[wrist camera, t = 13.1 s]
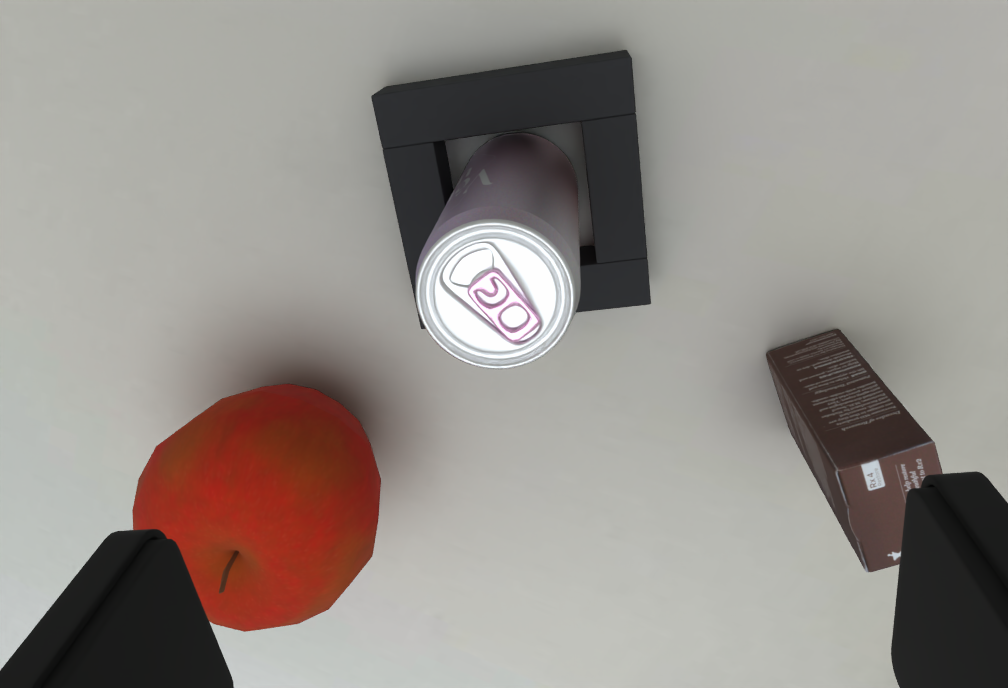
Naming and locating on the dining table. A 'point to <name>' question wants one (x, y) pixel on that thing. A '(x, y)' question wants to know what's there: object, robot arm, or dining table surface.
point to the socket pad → (514, 106)
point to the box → (853, 441)
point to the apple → (266, 504)
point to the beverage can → (504, 256)
